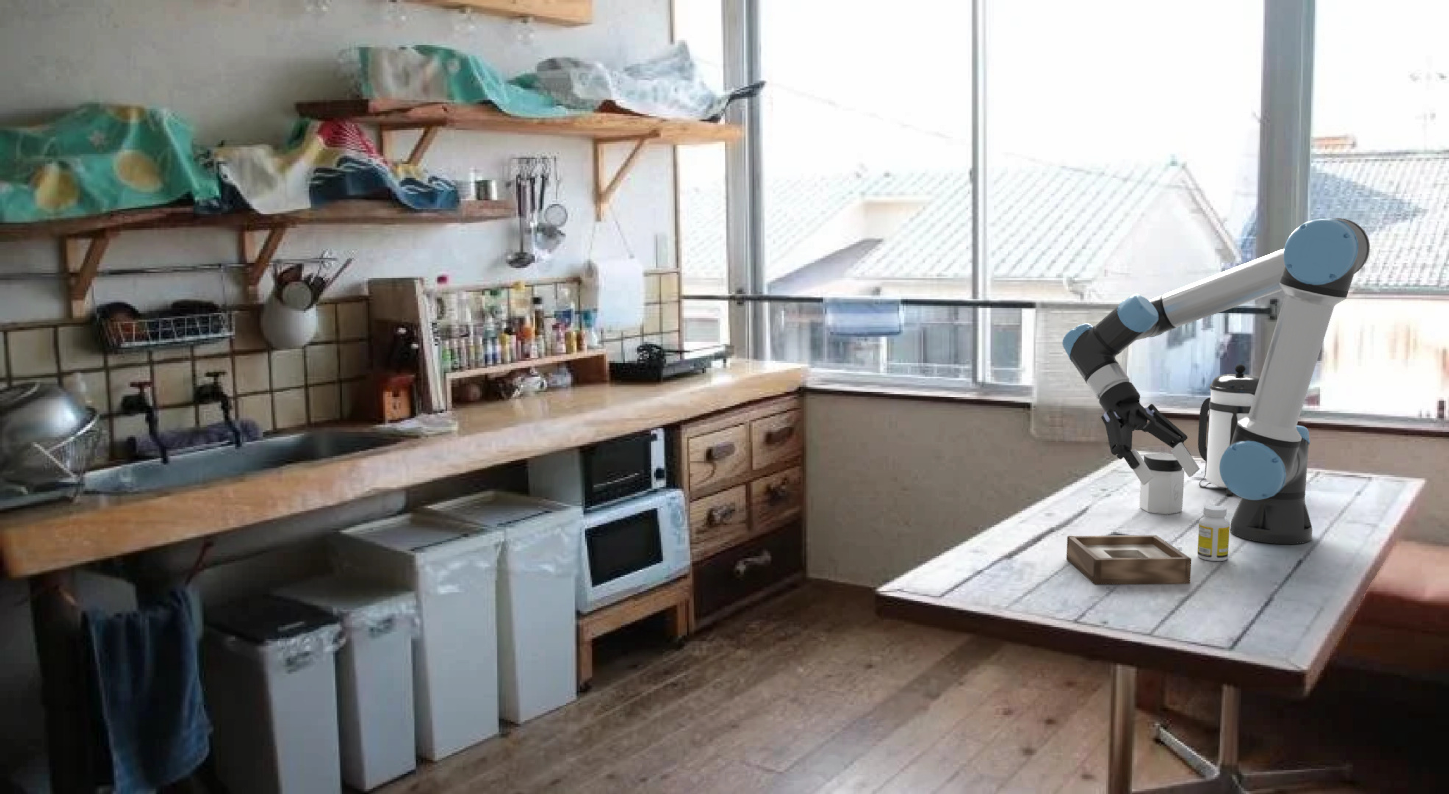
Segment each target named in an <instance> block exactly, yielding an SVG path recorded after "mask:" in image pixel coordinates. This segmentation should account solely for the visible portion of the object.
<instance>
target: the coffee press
mask: <svg viewBox="0 0 1449 794" xmlns="http://www.w3.org/2000/svg"><path fill="white" fill-rule="evenodd" d="M1234 370H1235V373H1229V374H1228V373H1227V374H1221V375H1218V376H1216V377H1214V379H1212V381H1211V384H1209V390H1210V397H1207V398H1206V399H1204V401H1202V403H1201V406H1200V409H1199V418H1198V419H1199V421H1198V435H1197V447H1198V453H1199V455H1200V457H1201V459H1202V460H1204V461H1205V469H1204V476H1203V478H1202V479H1201V480H1199V482H1198V483H1199V484H1198V486H1199V487H1200V488H1202V489H1203V488H1206V487H1207V486H1208V485H1213V486H1217V487H1220V488H1226V493H1225V494H1226V496H1229V497H1230V496H1231V497H1233V495H1234V493H1233V492H1231V491H1230V490H1229V489H1228V488H1227V487H1226V485H1225V484H1224V482H1223V480H1222V478H1221V475H1220V470H1219V465H1220V460H1221V457H1222V455H1223V454H1224V451H1225V450H1226V449H1227V448H1228V447H1229V446H1230V445H1231V442H1232V439H1233V435H1234V432H1235V429H1236V426H1237V422H1238V421H1239V420H1240V419H1242V418H1244V417H1246V416H1248V415H1249V412H1250V409H1251V405H1252V402H1253V399H1254V396H1255V392H1256V389H1257V386H1258V382H1259V379H1260V376H1257V375H1252V374H1246V373H1245V374H1244V372H1245V371H1246V366H1245V365H1244V364H1242V363H1238V364H1236V366H1235V368H1234ZM1204 479H1206V481H1207V482H1208V483H1206V484H1205V485H1201V483H1202V481H1203V480H1204Z"/></svg>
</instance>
